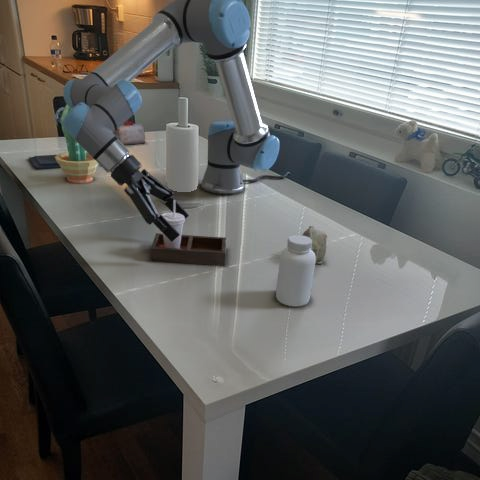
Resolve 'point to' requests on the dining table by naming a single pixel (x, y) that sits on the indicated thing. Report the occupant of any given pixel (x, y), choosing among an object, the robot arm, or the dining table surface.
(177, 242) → the smoothie
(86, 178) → the potted cactus
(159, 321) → the dining table surface
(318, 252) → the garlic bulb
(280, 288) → the pill bottle
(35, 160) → the wallet
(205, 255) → the tray
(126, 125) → the food item
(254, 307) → the dining table surface
